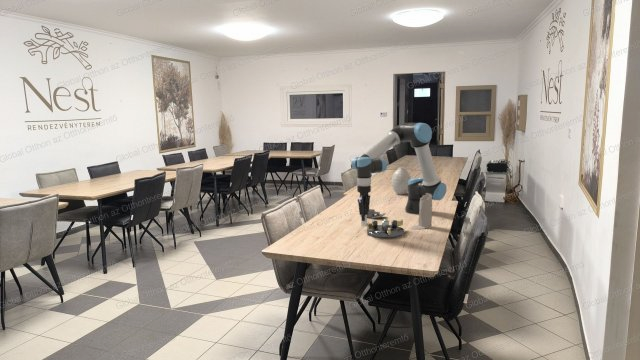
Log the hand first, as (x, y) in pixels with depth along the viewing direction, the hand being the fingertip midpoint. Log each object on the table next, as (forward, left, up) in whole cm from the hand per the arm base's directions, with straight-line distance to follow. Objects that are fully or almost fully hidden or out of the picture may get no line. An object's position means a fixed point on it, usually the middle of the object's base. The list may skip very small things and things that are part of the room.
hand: (364, 225), depth 238 cm
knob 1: (-5, -2, -2) cm, 5 cm away
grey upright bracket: (-35, -10, -5) cm, 36 cm away
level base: (-12, 0, -4) cm, 13 cm away
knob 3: (-20, -4, -2) cm, 20 cm away
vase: (-44, -110, -5) cm, 118 cm away
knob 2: (-12, +9, -2) cm, 15 cm away
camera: (-10, -36, -5) cm, 37 cm away
